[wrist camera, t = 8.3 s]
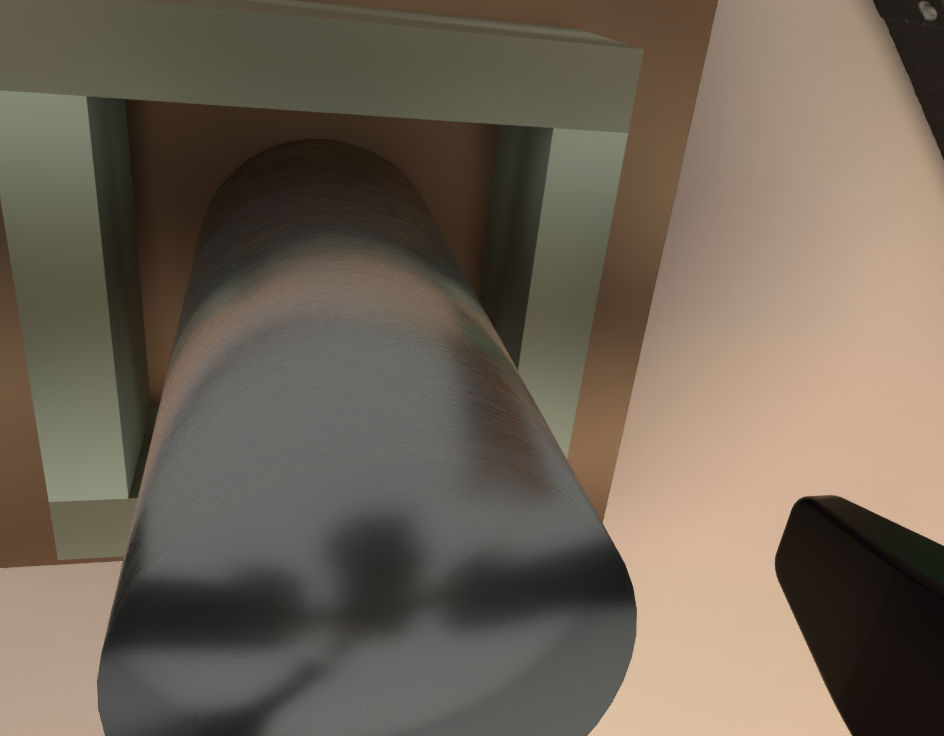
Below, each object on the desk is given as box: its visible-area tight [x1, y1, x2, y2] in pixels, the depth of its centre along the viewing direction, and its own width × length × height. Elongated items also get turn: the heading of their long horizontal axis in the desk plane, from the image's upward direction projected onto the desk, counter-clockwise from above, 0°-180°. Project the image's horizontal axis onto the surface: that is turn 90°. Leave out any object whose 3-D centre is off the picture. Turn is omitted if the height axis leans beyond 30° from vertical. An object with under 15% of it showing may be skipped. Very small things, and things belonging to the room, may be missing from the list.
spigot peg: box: [97, 139, 637, 736], centre depth 11 cm, size 4×4×10 cm
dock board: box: [0, 0, 718, 568], centre depth 14 cm, size 14×14×4 cm
